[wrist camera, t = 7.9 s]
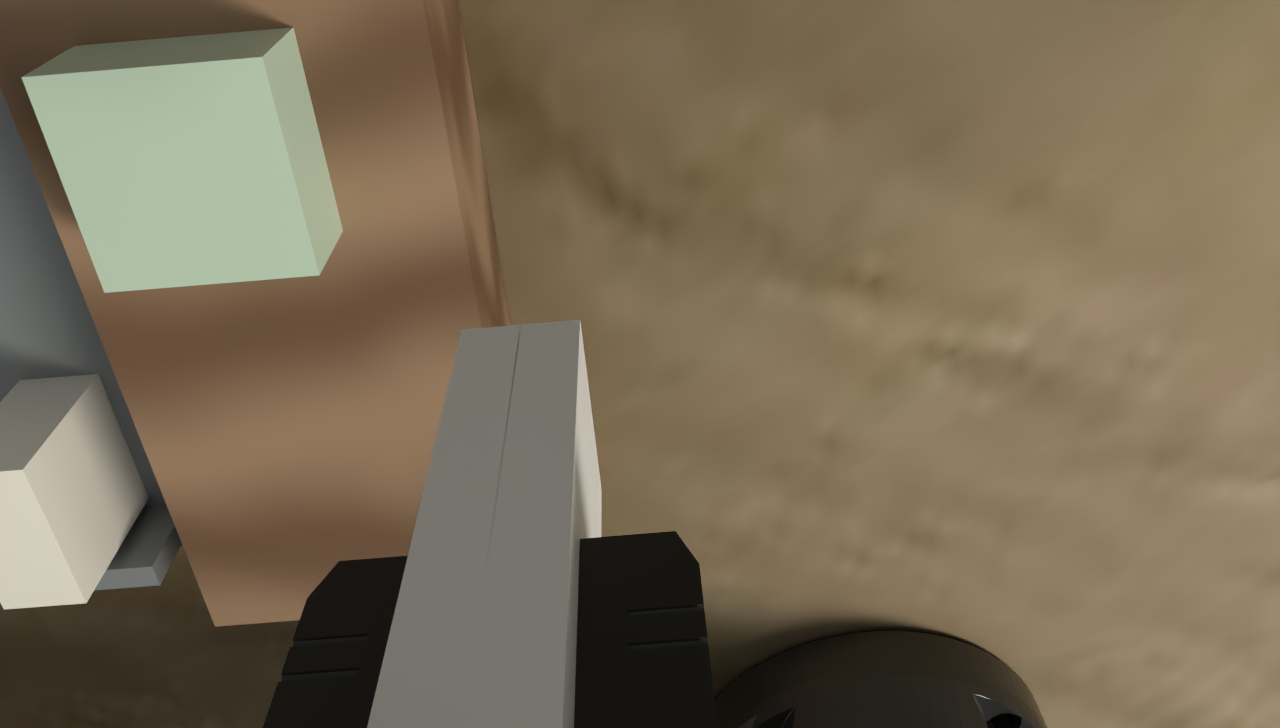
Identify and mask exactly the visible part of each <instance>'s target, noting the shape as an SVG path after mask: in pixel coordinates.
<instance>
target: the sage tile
mask: <svg viewBox="0 0 1280 728" xmlns="http://www.w3.org/2000/svg"><path fill="white" fill-rule="evenodd" d="M21 78H22V80H23V83H24V86H25V88H26V91H27V93H28V96H29V99H30V101H31V104H32V106H33V109H34V111H35V114H36V117H37V119H38V122H39V124H40V127H41V130H42V132H43V135H44V137H45V140H46V143H47V145H48V148H49V150H50V153H51V156H52V158H53V161H54V163H55V166H56V169H57V171H58V174H59V176H60V179H61V182H62V184H63V187H64V189H65V192H66V195H67V197H68V200H69V202H70V205H71V207H72V210H73V213H74V215H75V218H76V220H77V223H78V226H79V228H80V231H81V233H82V236H83V239H84V241H85V244H86V246H87V249H88V252H89V254H90V257H91V259H92V262H93V265H94V267H95V270H96V272H97V275H98V278H99V280H100V283H101V285H102V288H103V291H104V293H109V292H122V291H134V290H146V289H159V288H171V287H183V286H195V285H208V284H220V283H232V282H245V281H257V280H269V279H281V278H294V277H306V276H318V275H320V274H321V272H322V270H323V268H324V266H325V264H326V262H327V260H328V258H329V257H330V255H331V253H332V251H333V249H334V247H335V245H336V243H337V241H338V239H339V238H340V236H341V234H342V232H343V229H342V225H341V221H340V217H339V212H338V208H337V204H336V200H335V196H334V192H333V188H332V184H331V180H330V175H329V171H328V167H327V163H326V159H325V155H324V151H323V147H322V143H321V138H320V134H319V130H318V126H317V122H316V118H315V114H314V110H313V106H312V101H311V97H310V93H309V89H308V85H307V81H306V77H305V73H304V69H303V64H302V60H301V56H300V52H299V48H298V44H297V40H296V36H295V32H294V28H293V27H291V28H279V29H268V30H256V31H244V32H232V33H221V34H209V35H197V36H185V37H173V38H162V39H150V40H138V41H126V42H115V43H103V44H91V45H79V46H73V47H72V48H70V49H68V50H67V51H65V52H63V53H61V54H60V55H58V56H56V57H55V58H53V59H51V60H50V61H48V62H46V63H45V64H43V65H41V66H40V67H38V68H36V69H34V70H33V71H31V72H29V73H28V74H26V75H24V76H23V77H21Z"/></svg>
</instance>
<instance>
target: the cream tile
mask: <svg viewBox="0 0 1280 728" xmlns="http://www.w3.org/2000/svg"><path fill="white" fill-rule="evenodd" d="M148 499H149V498H148V495H147V493H146V490H145V488H144V485H143V483H142V480H141V478H140V475H139V473H138V470H137V468H136V465H135V463H134V461H133V458H132V456H131V453H130V451H129V448H128V446H127V443H126V441H125V438H124V436H123V433H122V431H121V428H120V426H119V424H118V421H117V419H116V416H115V414H114V411H113V409H112V406H111V404H110V401H109V399H108V396H107V394H106V391H105V389H104V387H103V384H102V382H101V379H100V377H99V374H91V375H78V376H66V377H53V378H40V379H28V380H20V381H19V382H18V383H17V384H16V385H15V386H14V387H13V388H12V390H11V391H10V392H9V393H8V394H7V395H6V396H5V397H4V398H3V400H2V401H1V402H0V603H1V605H2V607H3V609H4V610H5V609H18V608H31V607H44V606H57V605H71V604H84V603H87V601H88V600H89V598H90V596H91V595H92V593H93V591H94V590H95V588H96V586H97V585H98V583H99V581H100V580H101V578H102V576H103V575H104V573H105V571H106V570H107V568H108V566H109V564H110V563H111V561H112V559H113V558H114V556H115V554H116V553H117V551H118V549H119V548H120V546H121V544H122V543H123V541H124V539H125V538H126V536H127V534H128V533H129V531H130V529H131V528H132V526H133V524H134V522H135V521H136V519H137V517H138V516H139V514H140V512H141V511H142V509H143V507H144V506H145V504H146V502H147V501H148Z"/></svg>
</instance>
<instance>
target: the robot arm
mask: <svg viewBox="0 0 1280 728" xmlns="http://www.w3.org/2000/svg"><path fill="white" fill-rule="evenodd" d="M601 494H602V490H601V482H600V474H599V466H598V458H597V450H596V442H595V434H594V426H593V418H592V410H591V402H590V395H589V387H588V379H587V371H586V363H585V355H584V347H583V339H582V331H581V323H580V320H571V321H559V322H547V323H535V324H523V325H511V326H499V327H487V328H475V329H463V330H461V335H460V339H459V343H458V347H457V351H456V356H455V360H454V364H453V368H452V372H451V377H450V381H449V385H448V389H447V393H446V398H445V402H444V406H443V410H442V415H441V419H440V423H439V427H438V431H437V436H436V440H435V444H434V448H433V452H432V457H431V461H430V465H429V469H428V473H427V478H426V482H425V486H424V490H423V494H422V499H421V503H420V507H419V511H418V515H417V520H416V524H415V528H414V532H413V536H412V541H411V545H410V549H409V553H408V556H396V557H384V558H371V559H359V560H346V561H339V562H338V563H337V564H336V565H335V566H334V567H333V569H332V570H331V571H330V572H329V573H328V574H327V576H326V577H325V578H324V579H323V580H322V581H321V583H320V584H319V585H318V586H317V587H316V588H315V590H314V591H313V592H312V593H311V594H310V595H309V597H308V598H307V600H306V603H305V606H304V609H303V612H302V615H301V618H300V621H299V623H298V626H297V629H296V632H295V635H294V638H293V641H294V645H293V647H290V650H289V653H288V656H287V659H286V662H285V664H284V667H283V670H282V673H281V674H282V681H281V682H278V685H277V688H276V691H275V694H274V697H273V700H272V703H271V705H270V708H269V711H268V714H267V717H266V720H265V723H264V726H263V728H1047V726H1046V724H1045V722H1044V719H1043V717H1042V715H1041V712H1040V710H1039V708H1038V706H1037V703H1036V701H1035V699H1034V697H1033V695H1032V693H1031V692H1030V690H1029V688H1028V687H1027V685H1026V684H1025V683H1024V682H1023V680H1022V679H1021V678H1020V677H1019V676H1018V675H1017V674H1016V673H1015V672H1014V671H1013V670H1012V669H1011V668H1009V667H1008V666H1007V665H1006V664H1004V663H1003V662H1002V661H1000V660H999V659H997V658H996V657H994V656H992V655H991V654H989V653H987V652H985V651H983V650H981V649H979V648H977V647H974V646H972V645H969V644H967V643H964V642H961V641H958V640H954V639H951V638H947V637H943V636H938V635H933V634H927V633H919V632H908V631H870V632H860V633H852V634H846V635H840V636H835V637H830V638H826V639H822V640H818V641H814V642H811V643H808V644H805V645H802V646H799V647H796V648H793V649H791V650H788V651H786V652H783V653H781V654H779V655H777V656H775V657H772V658H771V659H769V660H767V661H765V662H763V663H761V664H759V665H758V666H756V667H754V668H753V669H751V670H749V671H748V672H747V673H745V674H744V675H742V676H741V677H739V678H738V679H737V680H735V681H734V682H733V683H732V684H730V685H729V686H728V687H727V688H726V689H725V690H724V691H723V692H722V693H721V694H720V695H719V696H718V697H717V698H716V699H715V700H714V694H713V685H712V676H711V667H710V658H709V649H708V641H707V631H706V622H705V612H704V603H703V594H702V585H701V576H700V567H699V563H698V562H697V560H696V559H695V558H694V556H693V555H692V554H691V552H690V551H689V549H688V548H687V547H686V545H685V544H684V543H683V541H682V540H681V538H680V537H679V536H678V534H677V533H676V531H672V532H660V533H647V534H635V535H622V536H609V537H601Z"/></svg>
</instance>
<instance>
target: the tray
mask: <svg viewBox="0 0 1280 728" xmlns="http://www.w3.org/2000/svg"><path fill="white" fill-rule="evenodd" d="M91 374H99V377H100V379H101V382H102V384H103V387H104V389H105V391H106V394H107V396H108V399H109V401H110V404H111V406H112V409H113V411H114V414H115V416H116V419H117V421H118V424H119V426H120V428H121V431H122V433H123V436H124V438H125V441H126V443H127V446H128V448H129V451H130V453H131V456H132V458H133V461H134V463H135V465H136V468H137V470H138V473H139V475H140V478H141V480H142V483H143V485H144V488H145V490H146V493H147V495H148V498H149V499H148V501H147V502H146V504H145V506H144V507H143V509H142V511H141V512H140V514H139V516H138V517H137V519H136V521H135V522H134V524H133V526H132V528H131V529H130V531H129V533H128V534H127V536H126V538H125V539H124V541H123V543H122V544H121V546H120V548H119V549H118V551H117V553H116V554H115V556H114V558H113V559H112V561H111V563H110V564H109V566H108V568H107V570H106V571H105V573H104V575H103V576H102V578H101V580H100V581H99V583H98V585H97V586H96V588H95V590H106V589H119V588H132V587H145V586H158V585H161V583H162V581H163V579H164V577H165V575H166V573H167V571H168V569H169V567H170V565H171V564H172V562H173V560H174V558H175V556H176V554H177V552H178V550H179V548H180V546H181V544H182V543H181V540H180V538H179V535H178V533H177V530H176V527H175V525H174V522H173V520H172V517H171V515H170V512H169V510H168V507H167V505H166V502H165V500H164V497H163V495H162V492H161V490H160V487H159V485H158V482H157V480H156V477H155V475H154V472H153V470H152V467H151V465H150V462H149V460H148V457H147V455H146V452H145V450H144V447H143V445H142V442H141V440H140V437H139V434H138V432H137V429H136V427H135V424H134V422H133V419H132V417H131V414H130V412H129V409H128V407H127V404H126V402H125V399H124V397H123V394H122V392H121V389H120V387H119V384H118V382H117V379H116V377H115V374H114V372H113V369H112V367H111V364H110V362H109V359H108V357H107V354H106V352H105V349H104V347H103V344H102V341H101V339H100V336H99V334H98V331H97V329H96V326H95V324H94V321H93V319H92V316H91V314H90V311H89V309H88V306H87V304H86V301H85V299H84V296H83V294H82V291H81V289H80V286H79V284H78V281H77V279H76V276H75V274H74V271H73V269H72V266H71V264H70V261H69V259H68V256H67V254H66V251H65V249H64V246H63V243H62V241H61V238H60V236H59V233H58V231H57V228H56V226H55V223H54V221H53V218H52V216H51V213H50V211H49V208H48V206H47V203H46V201H45V198H44V196H43V193H42V191H41V188H40V186H39V183H38V181H37V178H36V176H35V173H34V171H33V168H32V166H31V163H30V161H29V158H28V156H27V153H26V150H25V148H24V145H23V143H22V140H21V138H20V135H19V133H18V130H17V128H16V125H15V123H14V120H13V118H12V115H11V113H10V110H9V108H8V105H7V103H6V100H5V98H4V95H3V93H2V90H1V88H0V402H1V401H2V400H3V398H4V397H5V396H6V395H7V394H8V393H9V392H10V391H11V390H12V388H13V387H14V386H15V385H16V384H17V383H18V382H19V381H20V380H28V379H40V378H53V377H66V376H78V375H91Z"/></svg>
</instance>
